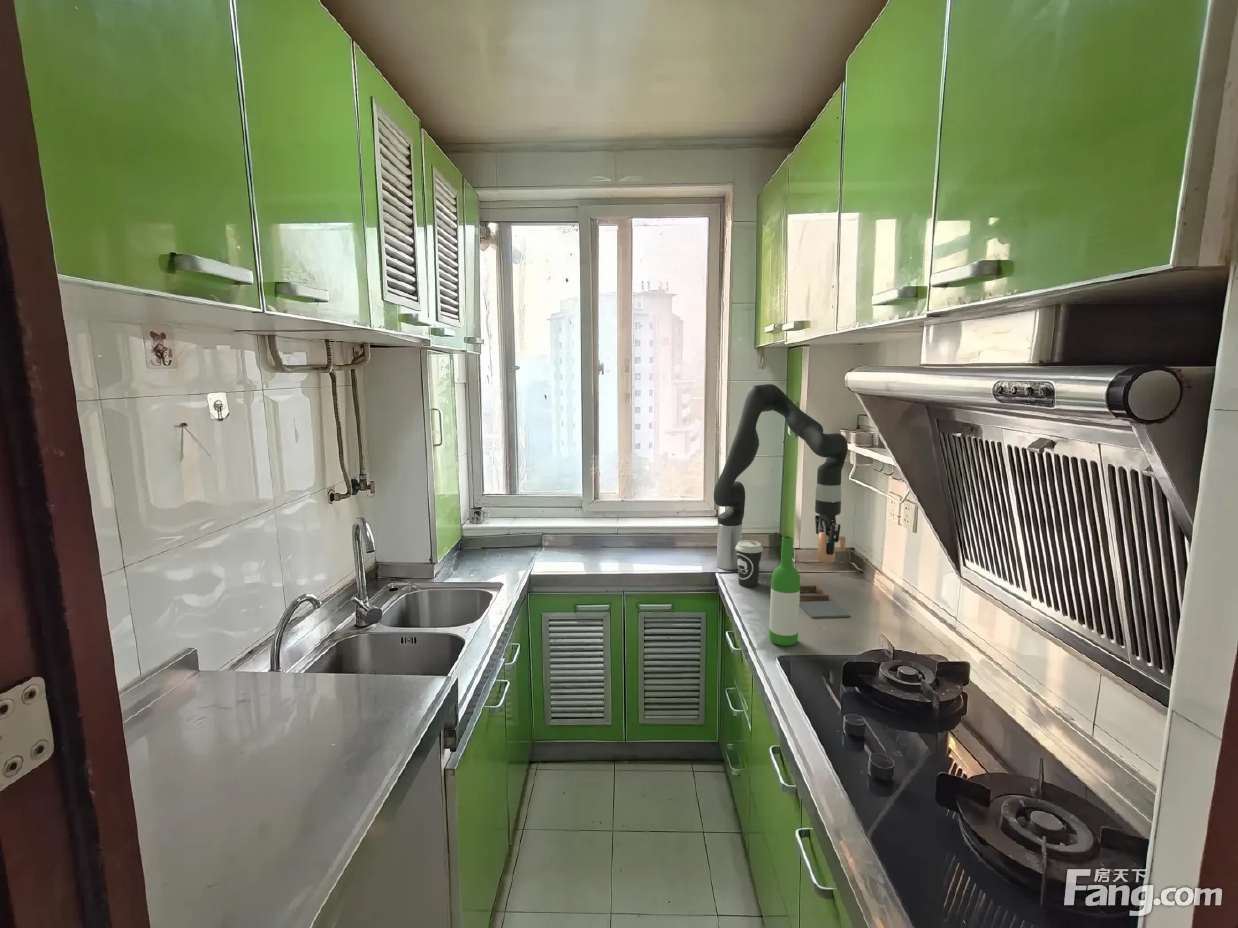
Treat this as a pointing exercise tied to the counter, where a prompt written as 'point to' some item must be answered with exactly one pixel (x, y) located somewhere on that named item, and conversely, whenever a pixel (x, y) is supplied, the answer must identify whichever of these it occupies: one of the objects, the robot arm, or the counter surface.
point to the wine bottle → (785, 598)
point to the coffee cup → (748, 562)
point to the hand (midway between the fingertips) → (826, 551)
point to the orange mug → (822, 548)
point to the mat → (823, 609)
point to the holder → (820, 597)
